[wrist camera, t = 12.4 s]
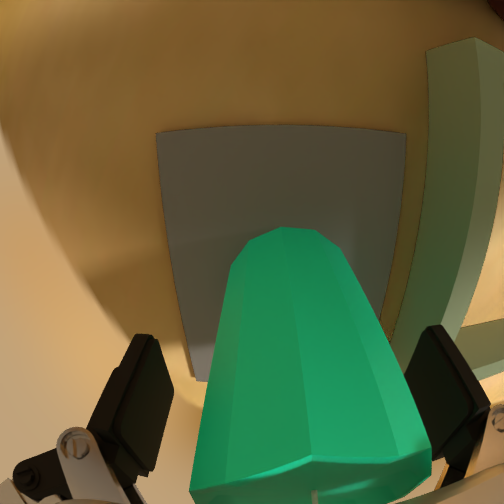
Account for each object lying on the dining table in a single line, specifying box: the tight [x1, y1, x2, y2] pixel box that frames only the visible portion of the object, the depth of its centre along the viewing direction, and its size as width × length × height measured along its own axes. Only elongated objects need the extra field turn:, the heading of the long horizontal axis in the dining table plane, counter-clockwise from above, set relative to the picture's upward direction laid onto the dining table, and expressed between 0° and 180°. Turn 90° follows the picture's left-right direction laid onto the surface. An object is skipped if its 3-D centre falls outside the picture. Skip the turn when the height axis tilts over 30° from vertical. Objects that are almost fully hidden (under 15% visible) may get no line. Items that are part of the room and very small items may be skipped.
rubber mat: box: [156, 125, 406, 382], centre depth 14 cm, size 15×11×1 cm
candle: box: [189, 227, 432, 504], centre depth 9 cm, size 6×6×12 cm
